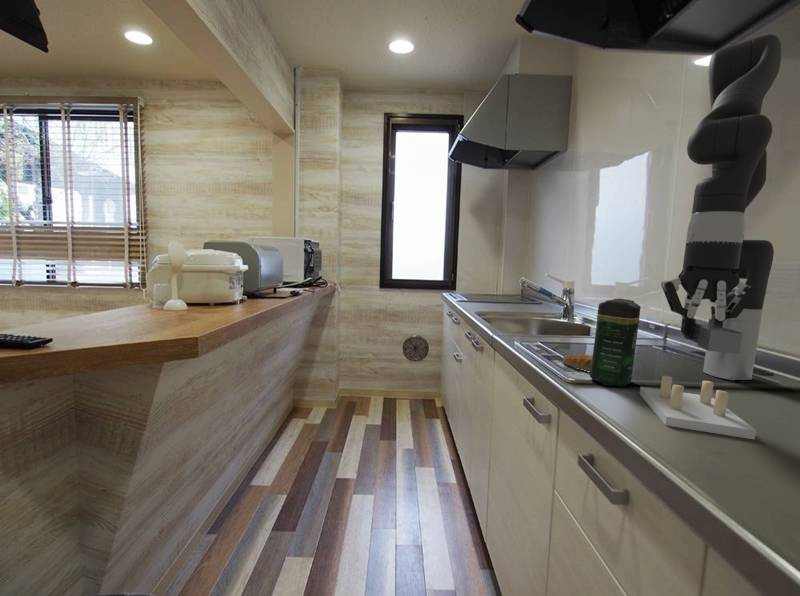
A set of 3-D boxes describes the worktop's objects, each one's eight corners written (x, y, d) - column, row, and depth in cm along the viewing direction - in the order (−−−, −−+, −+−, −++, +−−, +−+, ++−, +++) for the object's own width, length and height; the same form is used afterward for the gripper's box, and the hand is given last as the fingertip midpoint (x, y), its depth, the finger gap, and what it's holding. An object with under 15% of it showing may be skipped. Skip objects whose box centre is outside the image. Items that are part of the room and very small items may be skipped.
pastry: (557, 366, 98) (559, 351, 98) (568, 362, 103) (569, 348, 102) (597, 375, 91) (599, 359, 91) (606, 370, 96) (608, 355, 96)
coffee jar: (626, 390, 81) (637, 302, 79) (585, 381, 86) (594, 297, 84) (634, 380, 88) (644, 299, 86) (597, 372, 93) (605, 295, 91)
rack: (639, 393, 79) (642, 367, 79) (709, 403, 76) (713, 376, 75) (665, 425, 64) (669, 393, 63) (754, 439, 60) (760, 405, 60)
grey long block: (676, 334, 74) (678, 317, 73) (701, 336, 72) (703, 320, 72) (708, 350, 60) (711, 330, 60) (739, 354, 59) (742, 333, 59)
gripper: (751, 243, 68) (737, 340, 70) (659, 240, 72) (647, 331, 74) (777, 241, 61) (760, 349, 63) (673, 238, 65) (660, 339, 67)
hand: (699, 339), depth 68 cm, fingers closed on grey long block, 2 cm apart
